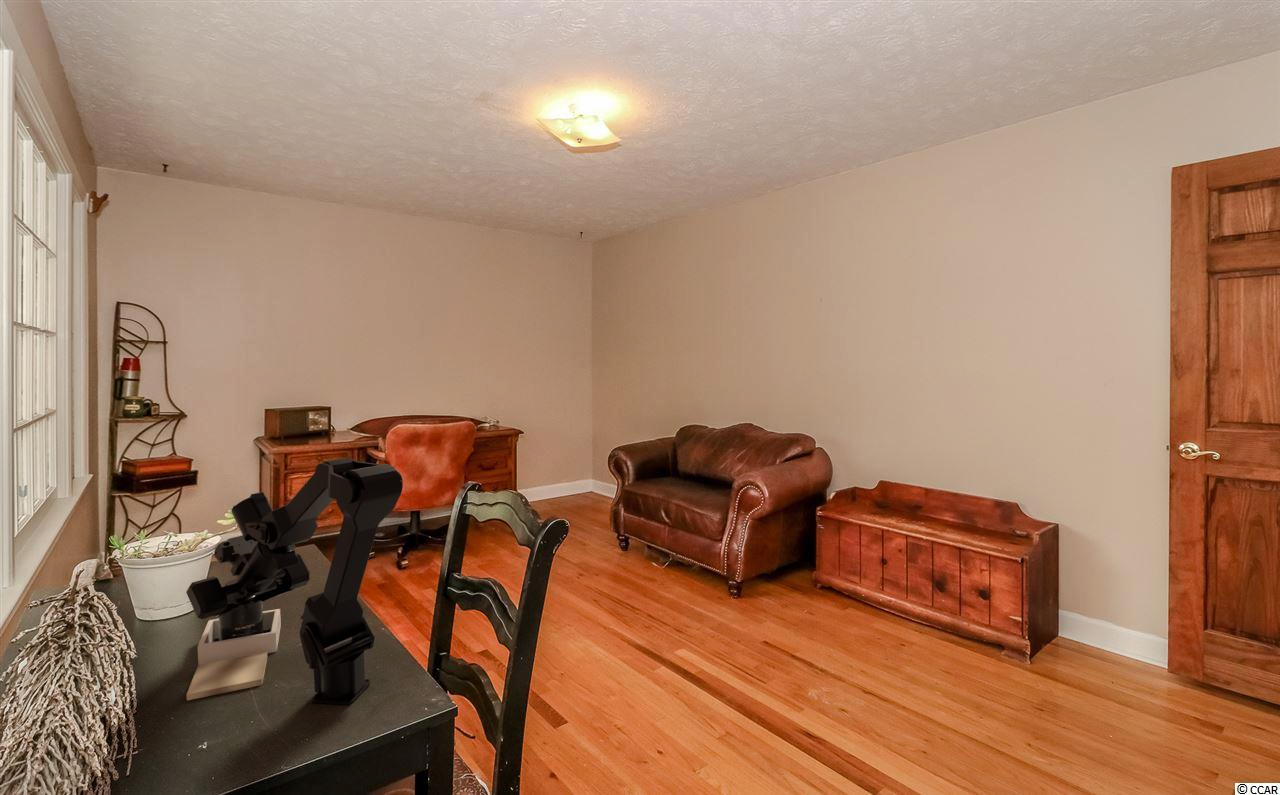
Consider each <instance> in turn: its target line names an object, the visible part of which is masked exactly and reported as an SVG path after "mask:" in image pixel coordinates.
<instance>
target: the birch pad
mask: <svg viewBox="0 0 1280 795" xmlns="http://www.w3.org/2000/svg"><path fill="white" fill-rule="evenodd" d="M267 661H268V653H267V652H265V653H259V654H254V655H249V656H243V657H238V658H233V659H227V660H222V661H217V662H212V663H206V664H201V665H197V667H196V669H195V672H194V675H193V678H192V680H191V682H190V685H189V688H188V690H187V692H186V701H191V700H197V699H202V698H205V697H209V696H214V695H216V696H217V695H220V694H224V693H225V694H226V693H229V692H235V691H239V690H244V689H248V688H253V687H254V688H255V687H258V686H263V682H264V678H265V672H266V668H267V667H266V666H267V663H268V662H267Z"/></svg>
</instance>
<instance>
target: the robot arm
mask: <svg viewBox="0 0 1280 795" xmlns="http://www.w3.org/2000/svg"><path fill="white" fill-rule="evenodd" d="M403 488H404V479H403V477H402V475H401V472H399V471H398V470H397V469H396V468H395V466H393V465H392V464H390V463H384V464H381V463H372V462H364V461H358V460H356V459H354V458H349V457H341V458H335V459H329V460H323V461H321V463H319V464H317V465H316V467H315V470H314V472H313V474H312V475H311V476H310V478H308V480H307V481H306V482H305V483H304V484H303V486H302V487H301V488H300V489H299V490H298V492H297V493H296V494H295V495H294V496H293V497H292V498H291V499H290V501H289V502H288V503H286V504H285V505H283V506H280V507H278V508H275V509H273V507H272V504H271V503H270V501H269V499H268V497H267V496H266V495H265V492H263V491H261V492H255V493H250V496H249V497H247V498H245V499H243V500H241V501H238V503H236V504H235V505H233V506H232V508H231V510H230V512H231V514H232V516H233V518H234V520H235V523H236V524H237V526H238V528H239V530H240V533H241V535H238V536H233V537H230V538H228V539H227V540H225V541H220V542H219V543H218V544H217V545H216V547H215V548H214V552H213V554H214V555H213V556H214V557H215V559H216V560H217V561H218V562H219V563H220V564H224V563H228V564H229V563H230V564H231V565H232V567H231V569H230V570H229V571H230V573H231V575H232V576H233V577H234V576H236V578H235V579H236V583H235V584H231V585H228V586H225V585H224V586H222V584H221V582H220V581H219V580H220V579H219V578H218V577H217V576H214V575H213V576H210V577H207V578H203V579H199V580H195V581H193V582H191V583H190V585H189V586H188V588H187V590H186V595H187V598H188V599H189V602H190V604H191V607H192V608H193V611H194V613H195V615H196V618H198V619H201V620H205V619H208V618H211V617H215V619H219V617H220V616H222V615H224V614H226V613H228V612H230V611H231V610H232V609H231V607H230V605H229V603H230V602H231V599H234V598H237V597H240V596H244V595H246V597H247V598H249V597H252V596H255V595H258V594H261V596H262V600H263V603H264V602H266V601H269V600H271V599H274V598H276V597H279V596H282V595H284V594H286V593H288V592H292V591H294V590H295V589H298V588H301V587H304V586H307V584H308V583H309V581H310V579H311V578H312V577H311V571H310V569H309V567H308V565H307V564H306V562H305V560H304V558H303V556H302V555H301V554H299V553H296V551H295V550H296V545H297V544H300V543H303V542H307V541H310V540H311V539H312V537H313V536H314V533H315V532H316V530H317V529H318V527H319V524H318V522H317V519H318V517H319V516H320V515H321V514H322V513H323V512H324V511H325V510H326V509H327V507H329V506H330V505H331V503H332V502H333V501H334V500H335V501H336V502H335V503H336V505H337V507H338V508H339V510H340V512H341V514H342V516H343V519H342V523H341V527H340V530H339V534H338V537H337V541H336V545H335V549H334V552H333V556H332V560H331V563H330V567H329V571H328V574H327V578H326V582H325V585H324V590H323V592H321V593H318V594H314V595H312V596H310V597H308V598H307V599H306V600H305V603H304V610H303V613H302V615H301V616H300V619H301V620H302V621H301V626H300V628H299V629H300V630H299V638H300V642H301V643H300V644H301V647H302V651H303V656H304V659H305V662H306V663H307V664H308V669H309V670H313V689H314V690H313V691H314V693H315V694H314V695H313V696H312V697H311V698H310V702H311V703H313V704H314V703H315V704H335V705H350V704H353V702H354V701H355V700H356V699H357V698H358V697H359V696H360V695H361V694H362V693H363V692H364V690H365V689H366V688H367V687H368V686H369V685H370V684H371V679H368V678H366V672H365V671H366V668H365V667H366V666H365V665H366V664H365V651H367V650H371V649H373V648H374V642H375V639H376V638H375V636H374V634H373V632H372V630H371V628H370V626H369V625H368V623H367V621H366V618H365V617H364V613H365V612H364V608H363V606H362V604H361V602H360V600H359V599H358V596H359V593H360V589H361V585H362V582H363V579H364V576H365V572H366V569H367V565H368V562H369V559H370V554H371V552H372V548H373V546H374V543H375V542H374V541H375V538H376V534H377V530H378V528H379V525H380V524H381V522H383V521H384V519H386V518H387V517H388V515H390V513H392V512H393V510H395V508H396V506H397V503H398V501H399V499H400V498H401V494H402V492H403ZM239 591H240V592H239ZM237 592H238V593H237ZM350 638H351V639H350ZM345 640H347V641H345ZM336 644H337V645H336ZM326 648H328V649H326ZM325 649H326V650H325Z"/></svg>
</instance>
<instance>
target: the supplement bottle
mask: <svg viewBox="0 0 1280 795" xmlns="http://www.w3.org/2000/svg"><path fill="white" fill-rule="evenodd" d="M235 583H236V578H232V579H230V580H228V581H226V582H225V583H224V587H225V586H228V585H231V584H235ZM239 592H240V591H239ZM237 593H238V592H237ZM263 603H264V602H263V600H262V596H261V594H258V595H255V596H252V597H249V598H247V597H246V595H244V596H240V597H237V598H234V599H231V602H230V603H229V605H230V607H231V609H232V610H231V611H230V612H228V613H226V614H224V615H222V616H220V617H218V619H219V638H218V640H219V641H222V640H228V639H234V638H240V637H245V636H251V635H257V634H262V633H264V631H263V611H264V606H263Z"/></svg>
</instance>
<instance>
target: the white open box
mask: <svg viewBox="0 0 1280 795" xmlns="http://www.w3.org/2000/svg"><path fill="white" fill-rule="evenodd" d="M281 618H282V617H281V608H277V609H271V610H263V633H262V634H257V635H251V636H245V637H240V638H234V639H228V640H222V641H218V640H219V618H214V619H209V620H208V622H207V624H206V626H205V628H204V631H203V633H202V636H201V638H200V640H199V642H198V644H197V662H198V665H201V664H206V663H212V662H217V661H222V660H227V659H233V658H238V657H243V656H249V655H254V654H259V653H265V652H267V654H272V653H276V652H278V644H279V639H280V633H281V624H282V623H281V621H282V620H281ZM269 630H270V631H269ZM264 631H269V632H265V633H264ZM217 639H218V640H217ZM215 640H217V641H215ZM198 665H197V666H198Z"/></svg>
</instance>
